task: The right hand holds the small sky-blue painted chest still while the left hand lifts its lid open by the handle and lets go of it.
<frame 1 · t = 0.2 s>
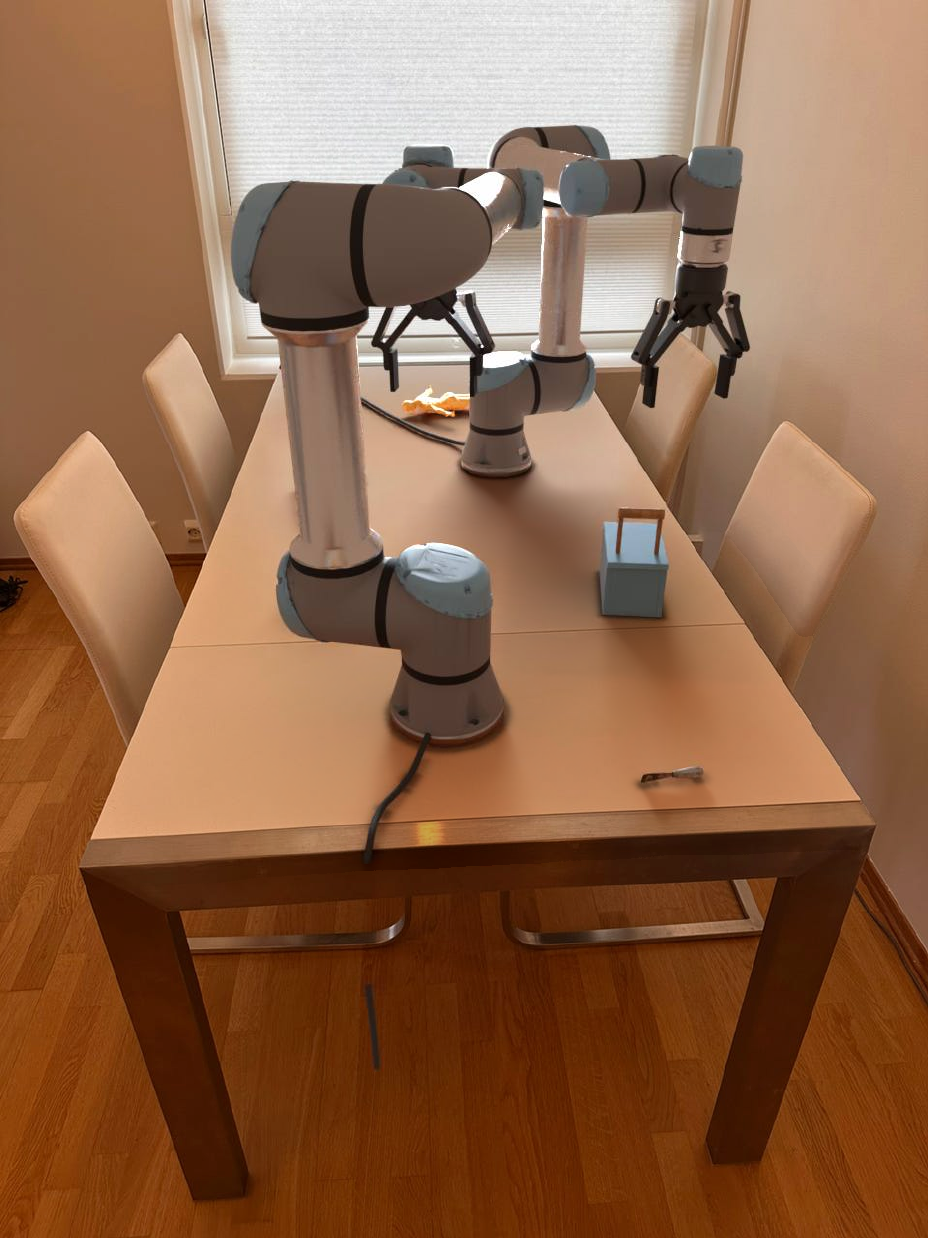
left hand: (433, 392, 149), 28 cm above the table, tool pointing down, fingers open, 13 cm apart
right hand: (685, 400, 145), 28 cm above the table, tool pointing down, fingers open, 13 cm apart
lid: (637, 523, 140), point 13 cm above the table, hinge at 0.0°
human figure: (450, 410, 226), on the table
handgun: (337, 495, 182), on the table
stone: (333, 590, 149), on the table
chest: (629, 594, 147), on the table
putty knife: (671, 781, 109), on the table
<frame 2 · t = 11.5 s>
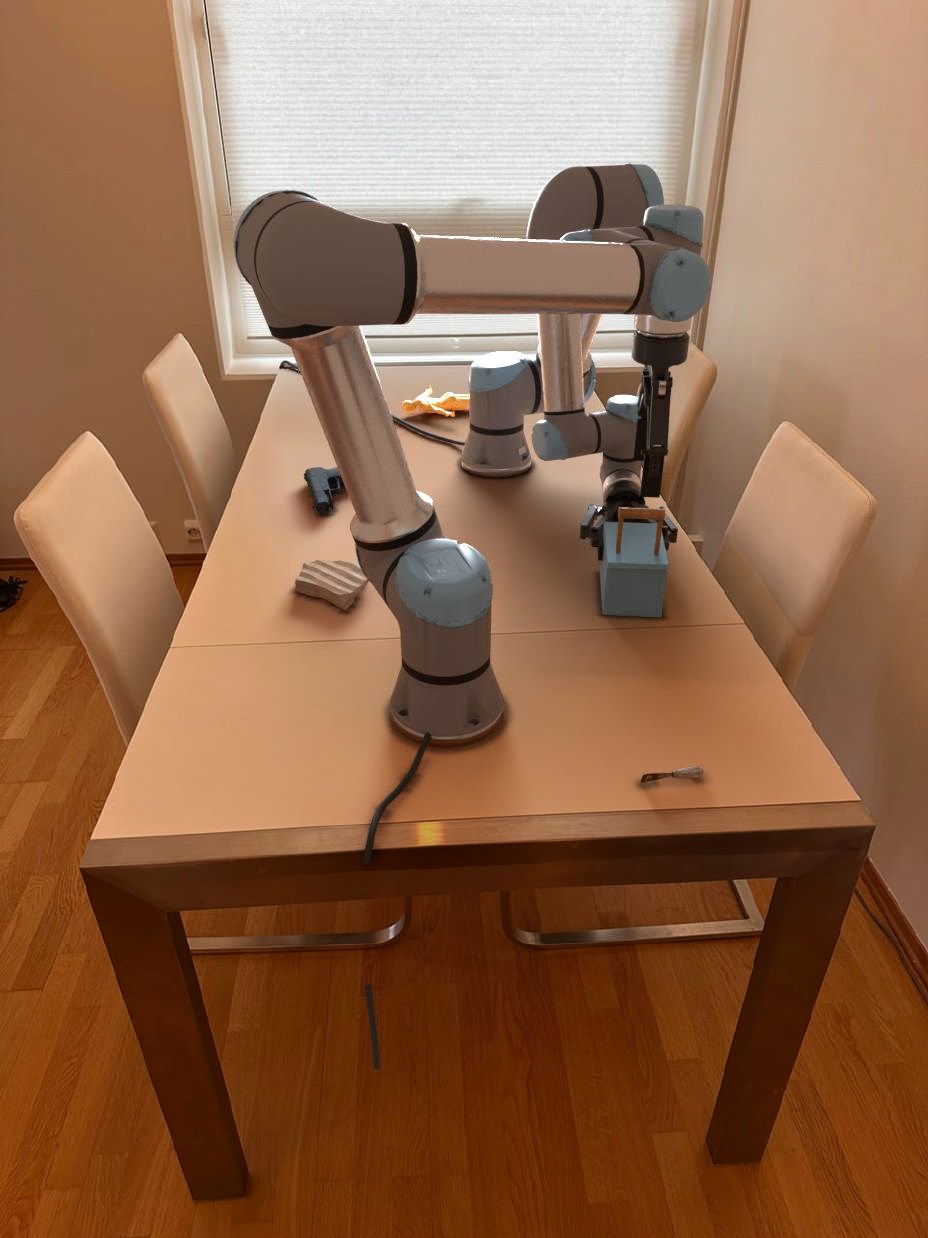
left hand: (645, 477, 132), 23 cm above the table, tool pointing down, fingers open, 13 cm apart
right hand: (631, 554, 147), 6 cm above the table, tool horizontal, fingers closed on chest, 9 cm apart
chest: (629, 594, 147), on the table, touching right hand
everything else where it was.
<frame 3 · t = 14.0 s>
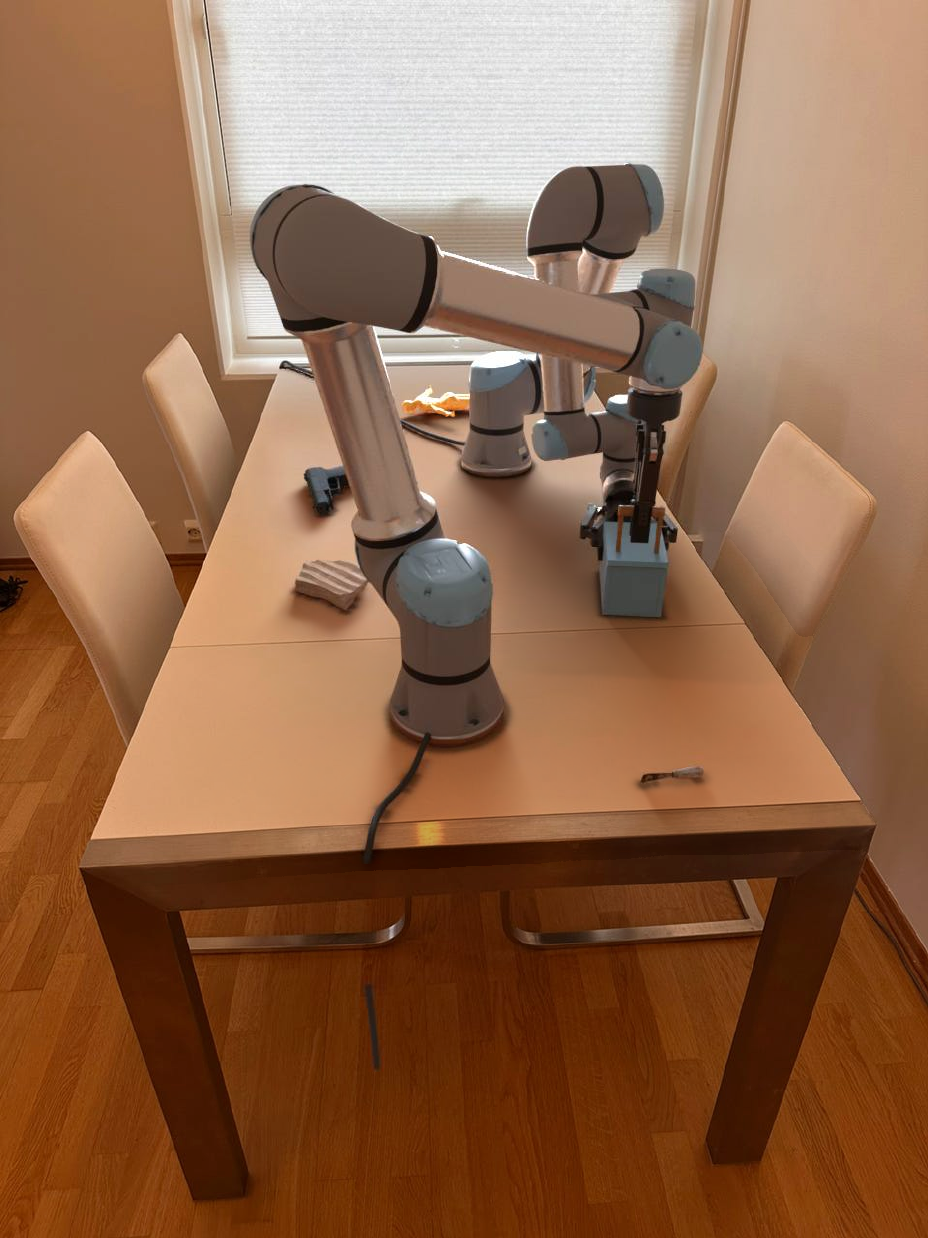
left hand: (638, 538, 137), 12 cm above the table, tool pointing down, fingers closed on lid, 2 cm apart
right hand: (631, 554, 147), 6 cm above the table, tool horizontal, fingers closed on chest, 9 cm apart
lid: (637, 521, 140), point 13 cm above the table, hinge at 1.4°, touching left hand
chest: (628, 594, 147), on the table, touching right hand
everything else where it was.
when the right hand's fingers open (6 cm above the table, at t = 20.8 s): chest stays where it is, on the table.
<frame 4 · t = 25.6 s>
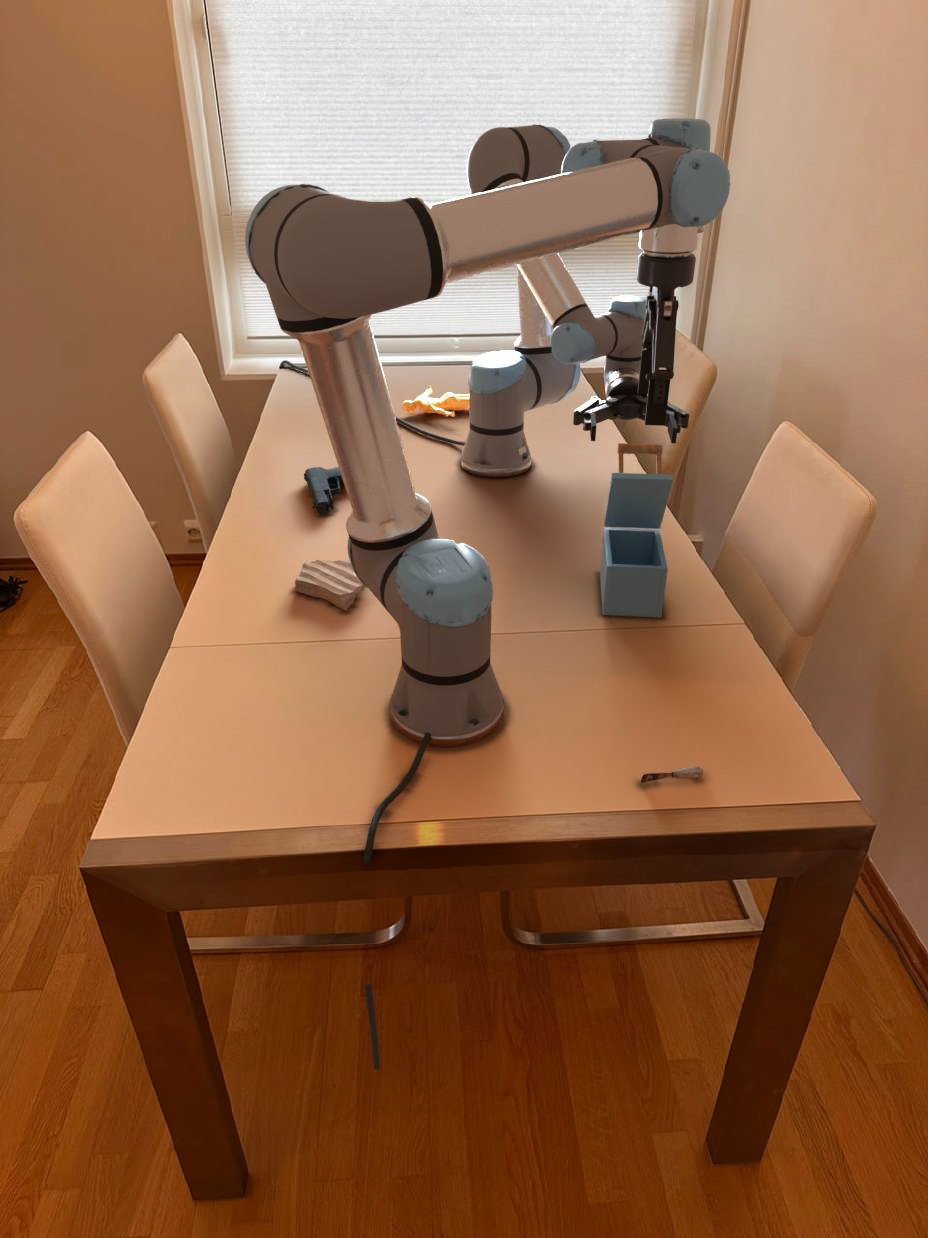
left hand: (650, 408, 129), 32 cm above the table, tool pointing down, fingers open, 13 cm apart
right hand: (633, 434, 151), 21 cm above the table, tool horizontal, fingers open, 13 cm apart
lid: (636, 481, 143), point 17 cm above the table, hinge at 57.5°
chest: (629, 594, 147), on the table
everything else where it was.
at the end: lid at +58° (first picture: +0°); the left hand is holding nothing; the right hand is holding nothing; chest tilted 0°; chest never tilted more than 1° during the clip; chest moved 0.1 cm from its start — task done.
